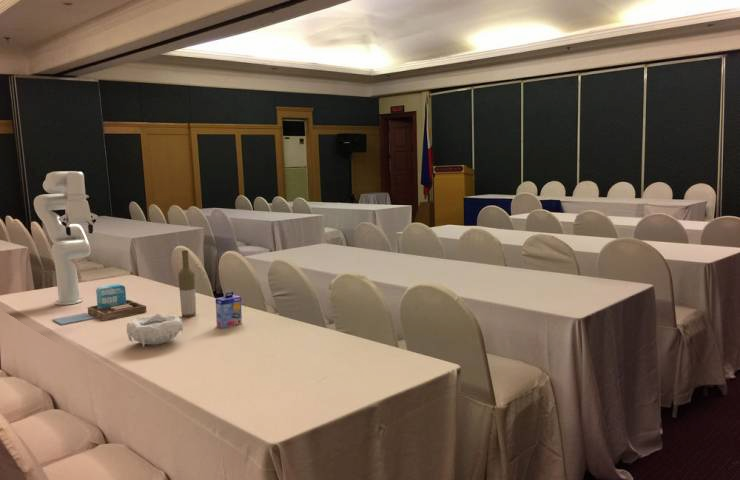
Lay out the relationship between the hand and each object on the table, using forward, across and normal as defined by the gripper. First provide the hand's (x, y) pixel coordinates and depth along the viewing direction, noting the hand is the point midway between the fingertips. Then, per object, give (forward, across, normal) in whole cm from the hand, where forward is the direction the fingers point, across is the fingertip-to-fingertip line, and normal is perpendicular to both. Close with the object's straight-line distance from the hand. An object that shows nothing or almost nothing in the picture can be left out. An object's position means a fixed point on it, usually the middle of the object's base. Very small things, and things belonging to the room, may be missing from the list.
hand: (80, 234), depth 278 cm
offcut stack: (+37, -8, +22) cm, 44 cm away
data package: (+37, -8, +11) cm, 39 cm away
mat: (+37, +10, +14) cm, 41 cm away
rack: (+37, -8, +16) cm, 41 cm away
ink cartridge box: (+37, -32, +76) cm, 90 cm away
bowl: (+37, +1, +77) cm, 86 cm away
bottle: (+37, -28, +48) cm, 67 cm away
